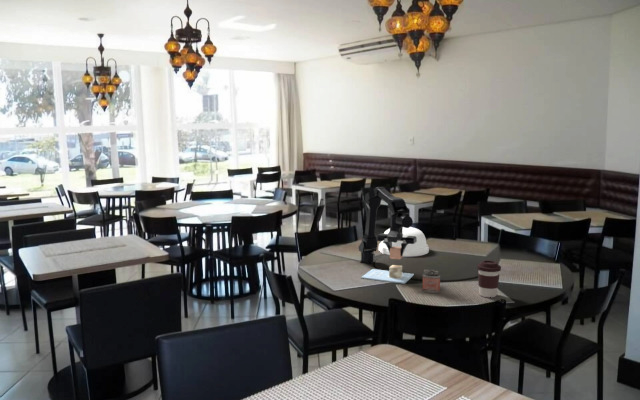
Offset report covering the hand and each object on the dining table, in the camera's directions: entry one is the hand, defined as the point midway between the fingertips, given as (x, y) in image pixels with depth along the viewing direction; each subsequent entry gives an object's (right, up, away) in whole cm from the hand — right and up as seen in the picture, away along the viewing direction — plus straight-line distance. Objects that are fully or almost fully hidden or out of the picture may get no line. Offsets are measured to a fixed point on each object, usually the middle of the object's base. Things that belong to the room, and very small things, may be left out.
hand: (396, 255), depth 256 cm
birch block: (0, -10, +1) cm, 10 cm away
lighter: (+13, -14, -20) cm, 28 cm away
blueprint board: (-4, -11, +3) cm, 12 cm away
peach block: (0, -1, 0) cm, 1 cm away
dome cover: (+13, -3, +57) cm, 59 cm away
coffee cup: (+37, -15, -26) cm, 47 cm away
